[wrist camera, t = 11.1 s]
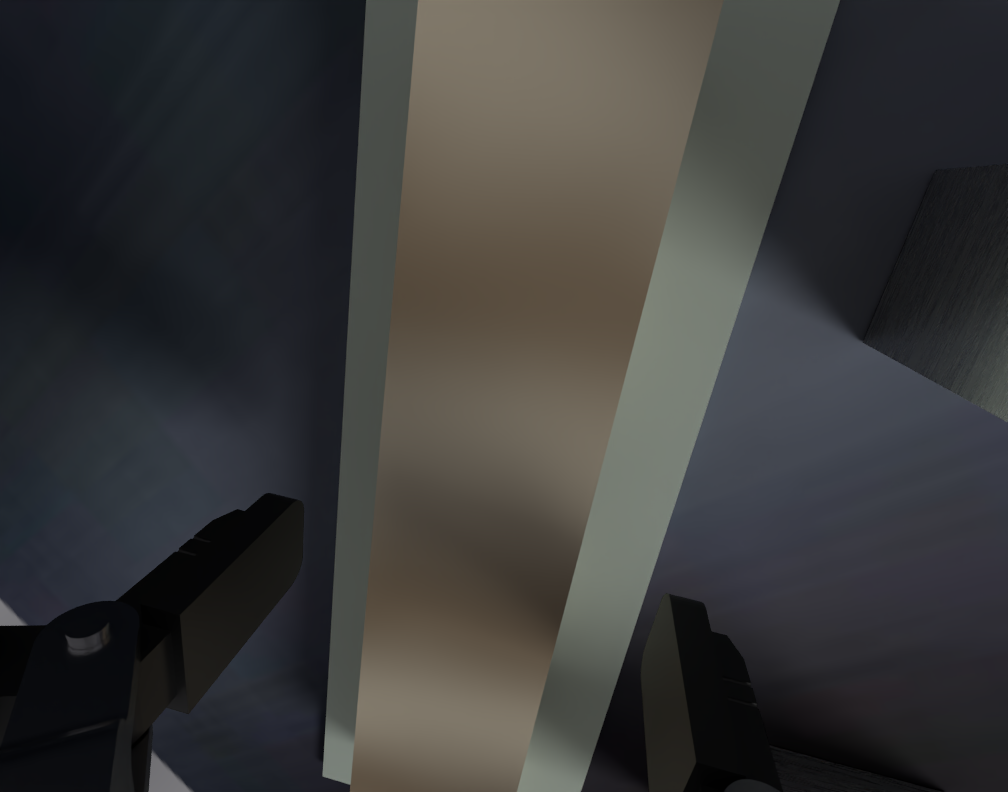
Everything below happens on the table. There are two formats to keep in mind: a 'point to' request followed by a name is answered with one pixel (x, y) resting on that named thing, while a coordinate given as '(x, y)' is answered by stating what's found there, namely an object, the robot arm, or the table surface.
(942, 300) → the bracket
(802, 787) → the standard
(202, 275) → the table surface
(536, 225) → the rail
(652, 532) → the mat
